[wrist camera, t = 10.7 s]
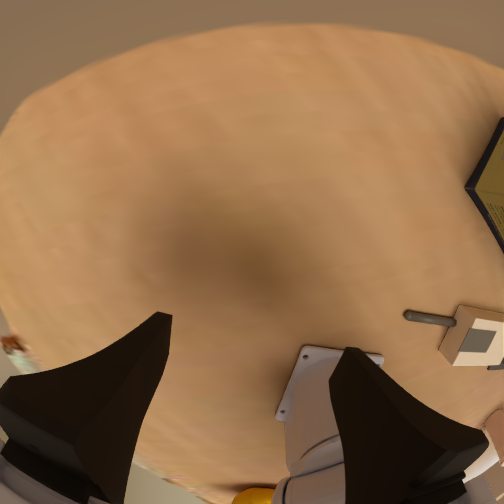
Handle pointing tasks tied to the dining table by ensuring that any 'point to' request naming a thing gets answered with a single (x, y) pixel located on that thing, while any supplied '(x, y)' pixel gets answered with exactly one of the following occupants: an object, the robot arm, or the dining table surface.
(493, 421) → the smoothie
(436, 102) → the dining table surface
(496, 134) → the protein box
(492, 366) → the coaster
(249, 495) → the duckling
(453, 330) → the cream walkie talkie
